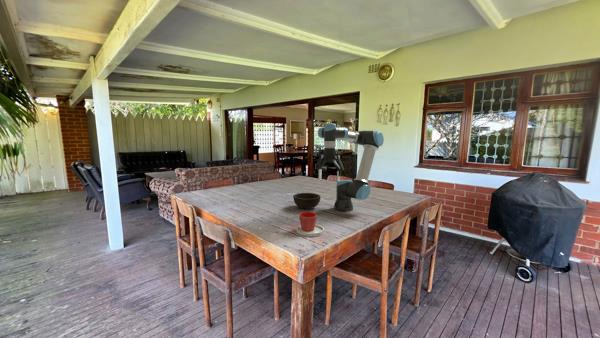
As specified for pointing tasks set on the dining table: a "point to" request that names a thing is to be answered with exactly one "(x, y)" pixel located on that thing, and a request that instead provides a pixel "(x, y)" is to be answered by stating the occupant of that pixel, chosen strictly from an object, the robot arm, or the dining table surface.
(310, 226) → the flower pot
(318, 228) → the saucer
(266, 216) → the dining table surface
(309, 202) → the bowl
